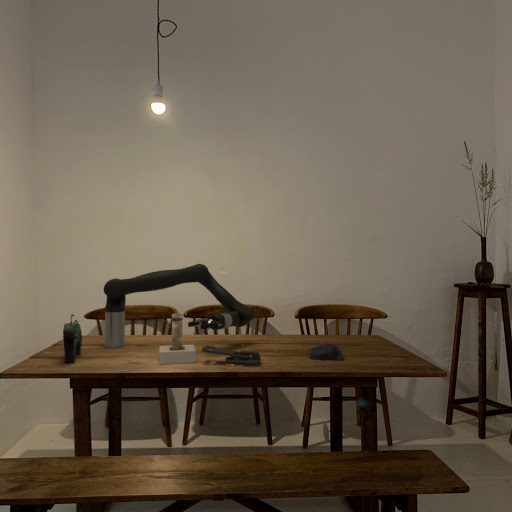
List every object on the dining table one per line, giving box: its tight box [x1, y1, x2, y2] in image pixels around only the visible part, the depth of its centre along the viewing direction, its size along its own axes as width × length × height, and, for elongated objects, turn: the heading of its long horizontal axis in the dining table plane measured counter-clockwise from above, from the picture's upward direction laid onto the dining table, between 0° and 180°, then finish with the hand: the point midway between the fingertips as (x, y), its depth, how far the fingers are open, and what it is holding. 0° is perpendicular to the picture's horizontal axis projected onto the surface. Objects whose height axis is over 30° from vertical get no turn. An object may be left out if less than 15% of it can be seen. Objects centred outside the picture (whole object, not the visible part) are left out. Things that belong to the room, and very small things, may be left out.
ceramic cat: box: [62, 313, 83, 365], centre depth 207 cm, size 20×6×20 cm, turn 9°
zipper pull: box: [201, 345, 262, 367], centre depth 200 cm, size 9×7×25 cm
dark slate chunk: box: [309, 343, 345, 362], centre depth 216 cm, size 15×22×5 cm
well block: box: [159, 344, 197, 365], centre depth 206 cm, size 15×13×5 cm
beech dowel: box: [171, 312, 184, 350], centre depth 206 cm, size 5×5×20 cm
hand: (194, 325), depth 213 cm, fingers open, 8 cm apart
